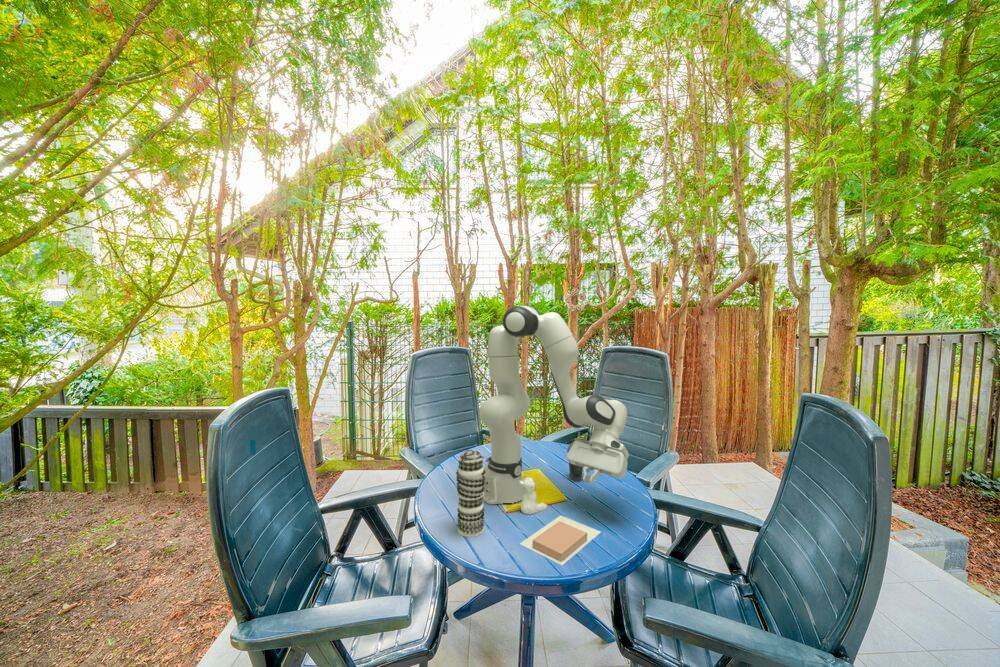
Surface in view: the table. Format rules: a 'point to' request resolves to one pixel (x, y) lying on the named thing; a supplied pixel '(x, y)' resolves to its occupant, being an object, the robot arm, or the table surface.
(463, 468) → the stacked ring tower
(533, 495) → the seated beast figurine
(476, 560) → the table surface
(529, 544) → the mat
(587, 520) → the table surface
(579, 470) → the beverage cup
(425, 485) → the table surface
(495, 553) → the table surface
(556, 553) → the tile
